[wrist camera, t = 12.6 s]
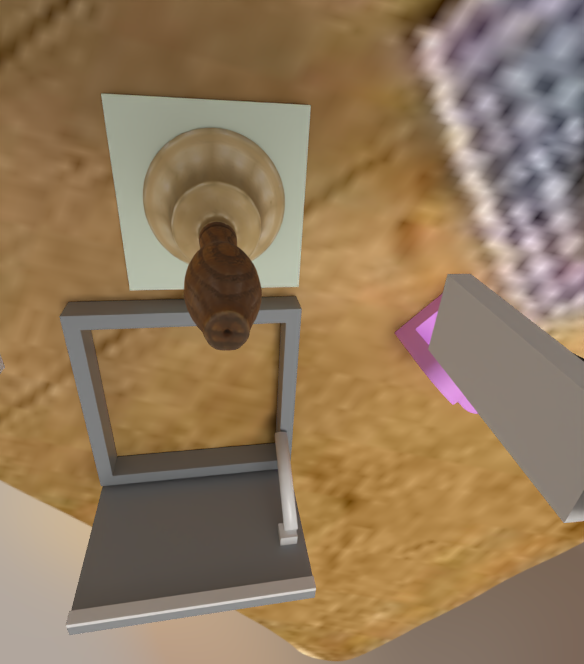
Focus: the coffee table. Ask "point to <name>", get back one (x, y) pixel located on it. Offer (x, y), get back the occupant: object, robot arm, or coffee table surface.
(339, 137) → the coffee table surface
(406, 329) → the bracket
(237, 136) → the hand bell
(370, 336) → the coffee table surface
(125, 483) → the hatch
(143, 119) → the pad
